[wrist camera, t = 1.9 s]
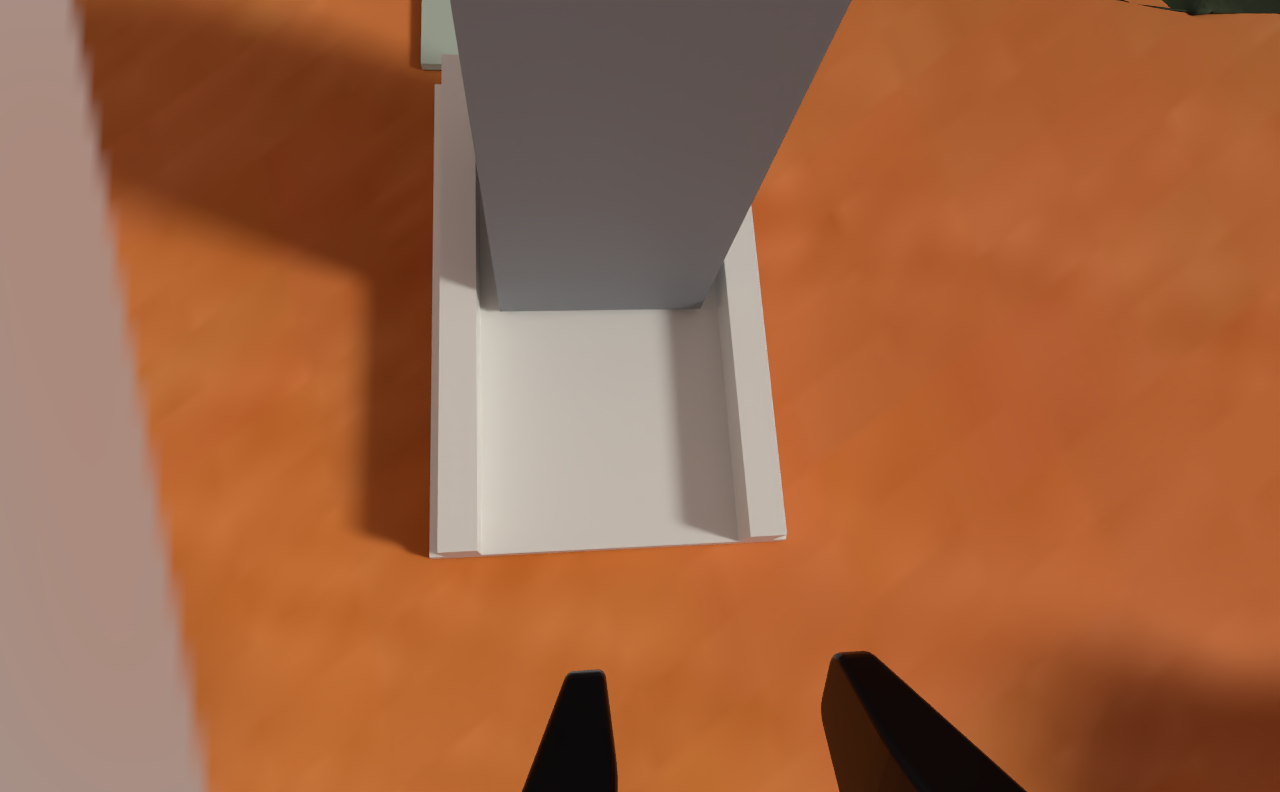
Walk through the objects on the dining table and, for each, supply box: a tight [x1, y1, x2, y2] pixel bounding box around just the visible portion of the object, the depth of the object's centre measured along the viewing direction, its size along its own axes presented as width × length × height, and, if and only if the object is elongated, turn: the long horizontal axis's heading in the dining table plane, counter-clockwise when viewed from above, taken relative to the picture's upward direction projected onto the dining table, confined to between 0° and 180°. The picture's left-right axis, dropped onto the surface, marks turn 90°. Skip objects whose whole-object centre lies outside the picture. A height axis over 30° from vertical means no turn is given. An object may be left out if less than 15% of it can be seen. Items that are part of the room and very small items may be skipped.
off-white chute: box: [429, 54, 787, 559], centre depth 23 cm, size 15×10×2 cm, turn 4°
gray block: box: [450, 0, 851, 311], centre depth 18 cm, size 6×6×13 cm
